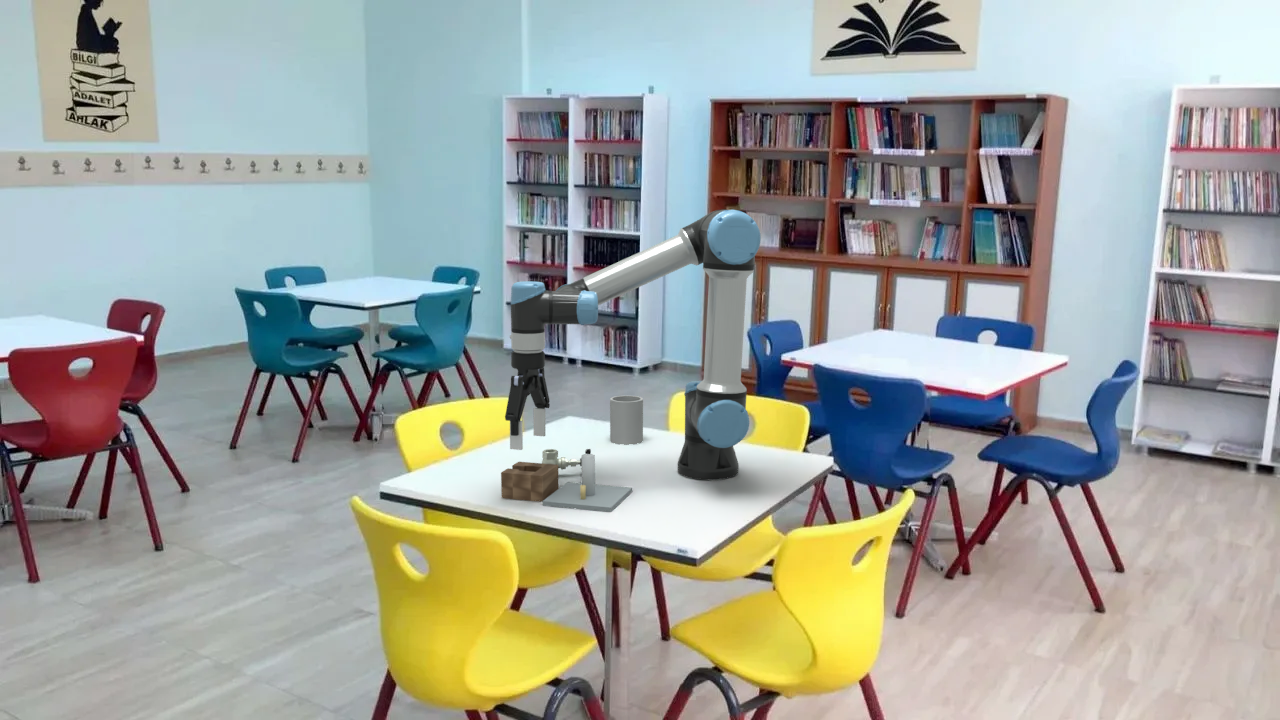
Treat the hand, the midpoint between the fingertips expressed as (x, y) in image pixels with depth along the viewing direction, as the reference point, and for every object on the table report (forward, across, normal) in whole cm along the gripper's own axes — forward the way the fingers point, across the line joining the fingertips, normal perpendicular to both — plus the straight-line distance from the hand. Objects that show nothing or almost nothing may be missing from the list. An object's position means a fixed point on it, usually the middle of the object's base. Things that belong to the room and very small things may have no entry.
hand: (528, 442), depth 236 cm
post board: (+12, -1, +14) cm, 19 cm away
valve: (+12, -17, +3) cm, 21 cm away
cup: (+12, -55, +6) cm, 57 cm away
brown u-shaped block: (+12, 0, 0) cm, 12 cm away
